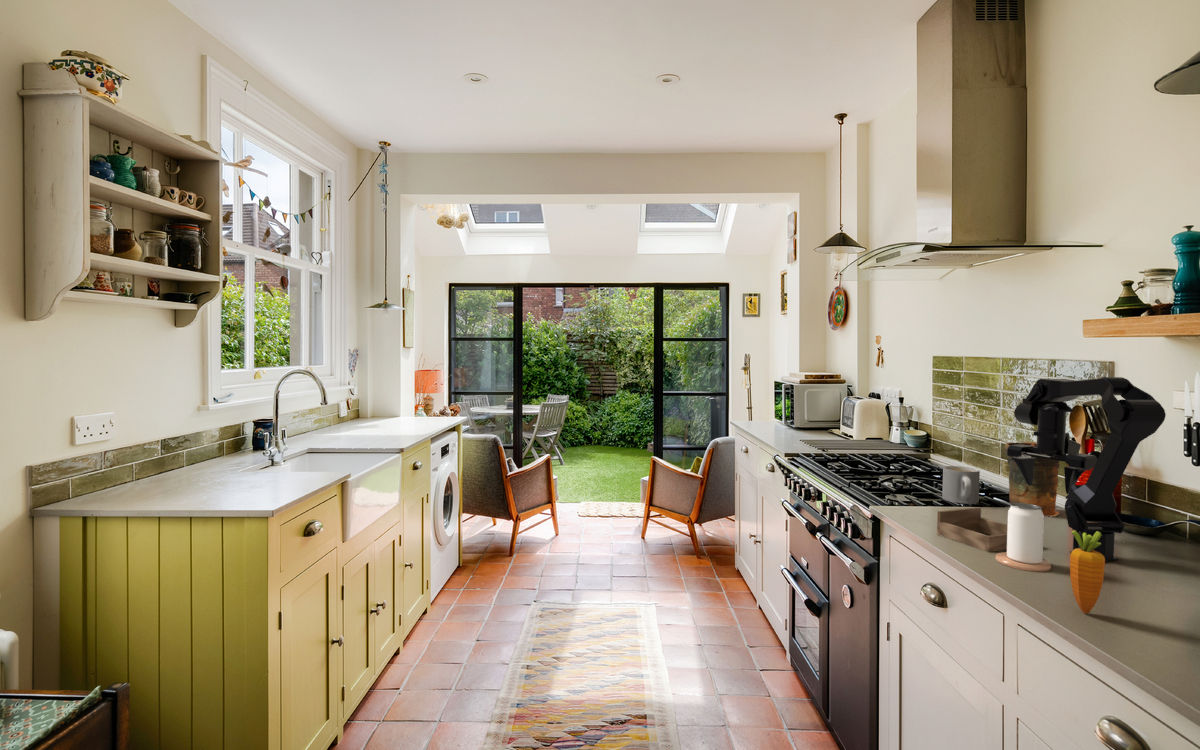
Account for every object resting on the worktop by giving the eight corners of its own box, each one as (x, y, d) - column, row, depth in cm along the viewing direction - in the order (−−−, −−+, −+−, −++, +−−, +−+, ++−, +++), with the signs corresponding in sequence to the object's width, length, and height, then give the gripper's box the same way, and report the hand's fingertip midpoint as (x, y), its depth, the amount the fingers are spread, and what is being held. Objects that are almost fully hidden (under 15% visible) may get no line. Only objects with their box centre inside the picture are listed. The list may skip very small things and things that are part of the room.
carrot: (1061, 610, 107) (1064, 527, 107) (1079, 606, 109) (1082, 525, 109) (1092, 621, 103) (1095, 535, 102) (1110, 617, 105) (1113, 532, 104)
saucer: (1062, 568, 129) (1062, 564, 129) (1029, 573, 125) (1029, 570, 125) (1016, 553, 138) (1016, 550, 138) (984, 558, 135) (984, 554, 135)
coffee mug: (941, 494, 197) (942, 464, 196) (977, 498, 192) (978, 467, 192) (943, 503, 185) (944, 471, 185) (981, 507, 180) (982, 475, 180)
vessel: (1068, 520, 166) (1068, 449, 166) (1006, 514, 173) (1006, 446, 173) (1060, 509, 179) (1060, 443, 178) (1002, 504, 186) (1002, 440, 185)
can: (1011, 552, 136) (1012, 500, 136) (1045, 560, 131) (1047, 506, 131) (1002, 559, 132) (1004, 505, 131) (1038, 567, 127) (1040, 511, 127)
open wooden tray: (1031, 546, 144) (1031, 521, 144) (988, 551, 139) (989, 526, 139) (977, 529, 157) (978, 507, 157) (937, 534, 152) (937, 511, 152)
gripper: (1114, 431, 144) (1111, 495, 145) (1034, 422, 162) (1032, 479, 163) (1084, 434, 140) (1081, 499, 141) (1006, 424, 158) (1003, 482, 159)
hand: (1048, 489), depth 151 cm, fingers open, 9 cm apart
